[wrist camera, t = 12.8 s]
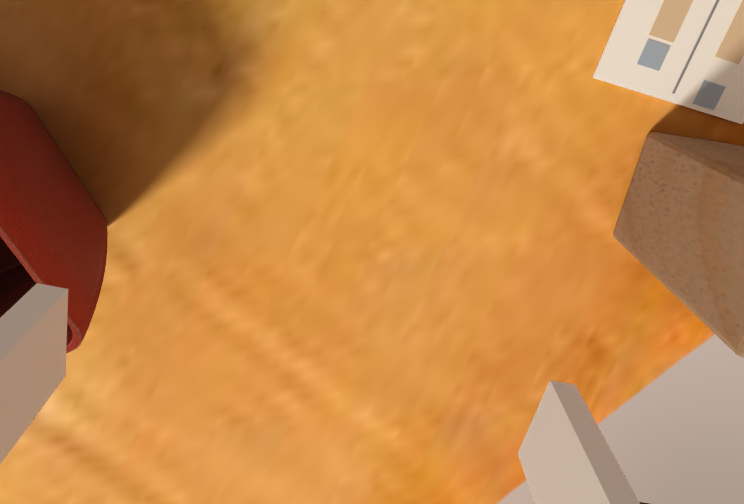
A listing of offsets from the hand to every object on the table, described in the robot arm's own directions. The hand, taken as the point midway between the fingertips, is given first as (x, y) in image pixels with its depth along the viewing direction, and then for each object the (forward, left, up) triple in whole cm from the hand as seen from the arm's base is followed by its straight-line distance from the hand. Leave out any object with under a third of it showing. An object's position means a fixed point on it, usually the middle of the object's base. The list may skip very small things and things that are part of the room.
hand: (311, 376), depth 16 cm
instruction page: (-14, +26, -37) cm, 47 cm away
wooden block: (-2, +31, -37) cm, 48 cm away
